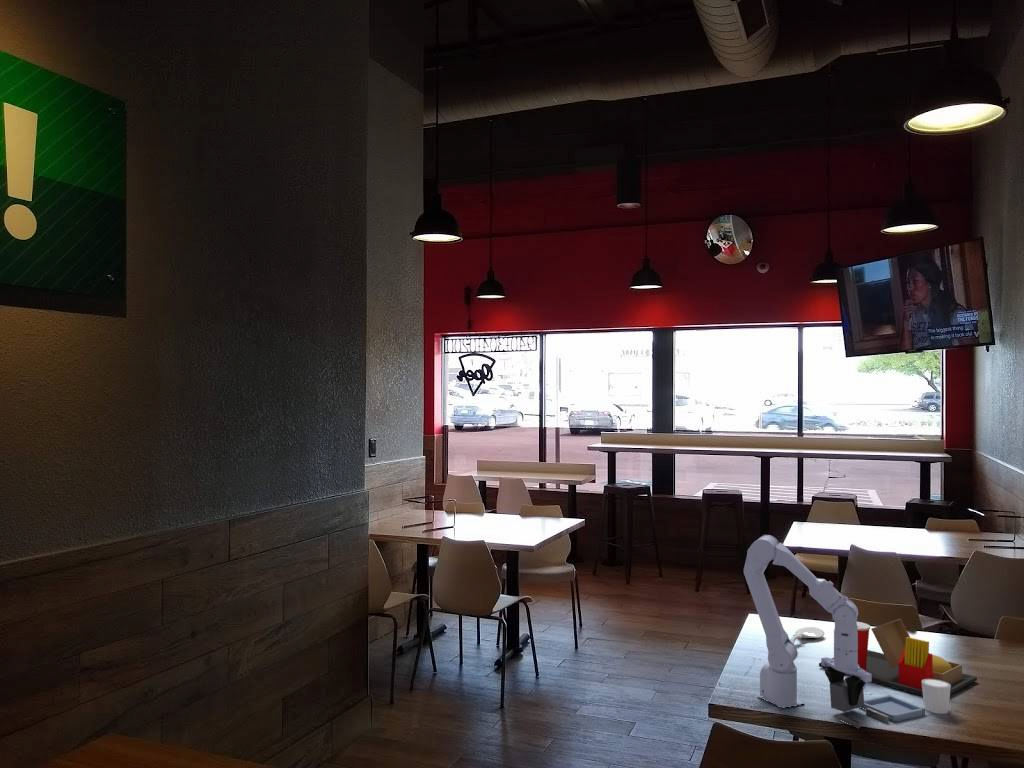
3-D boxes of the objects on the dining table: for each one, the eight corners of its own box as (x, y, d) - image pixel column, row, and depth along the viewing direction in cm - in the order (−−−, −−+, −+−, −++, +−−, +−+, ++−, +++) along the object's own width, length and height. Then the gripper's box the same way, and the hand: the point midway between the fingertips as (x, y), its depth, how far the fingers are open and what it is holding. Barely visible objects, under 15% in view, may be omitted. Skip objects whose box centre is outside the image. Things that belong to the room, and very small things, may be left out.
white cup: (941, 704, 210) (941, 678, 210) (956, 714, 203) (956, 687, 203) (916, 704, 209) (916, 678, 210) (930, 714, 202) (930, 687, 203)
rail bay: (838, 720, 198) (838, 714, 198) (868, 713, 202) (868, 707, 203) (857, 729, 192) (857, 722, 193) (888, 722, 197) (888, 716, 197)
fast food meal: (940, 703, 211) (939, 634, 212) (818, 669, 238) (818, 608, 239) (977, 683, 228) (976, 619, 228) (859, 653, 254) (859, 596, 255)
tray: (858, 707, 207) (858, 701, 207) (889, 700, 212) (889, 695, 212) (893, 722, 197) (893, 716, 197) (925, 714, 202) (925, 709, 202)
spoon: (766, 652, 254) (766, 641, 254) (802, 632, 279) (802, 622, 279) (793, 658, 248) (793, 647, 249) (828, 637, 273) (828, 627, 273)
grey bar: (831, 707, 202) (829, 684, 203) (850, 701, 206) (849, 678, 207) (844, 711, 199) (842, 687, 199) (864, 705, 203) (862, 682, 204)
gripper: (880, 654, 198) (880, 709, 198) (834, 639, 211) (834, 690, 211) (860, 658, 195) (860, 713, 195) (815, 642, 208) (815, 693, 208)
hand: (845, 701), depth 203 cm, fingers closed on grey bar, 4 cm apart
